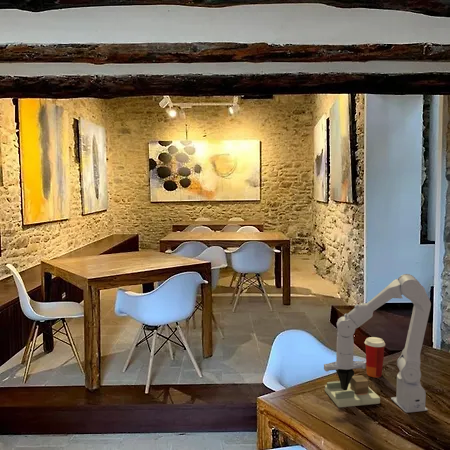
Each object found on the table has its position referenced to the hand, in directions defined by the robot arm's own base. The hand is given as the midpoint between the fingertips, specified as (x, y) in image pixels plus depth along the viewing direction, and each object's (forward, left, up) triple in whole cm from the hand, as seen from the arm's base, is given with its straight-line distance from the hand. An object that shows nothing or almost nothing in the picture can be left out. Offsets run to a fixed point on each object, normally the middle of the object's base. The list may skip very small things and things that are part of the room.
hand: (344, 388), depth 153 cm
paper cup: (+15, -19, -3) cm, 25 cm away
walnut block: (0, -6, -1) cm, 6 cm away
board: (0, -3, -3) cm, 4 cm away
